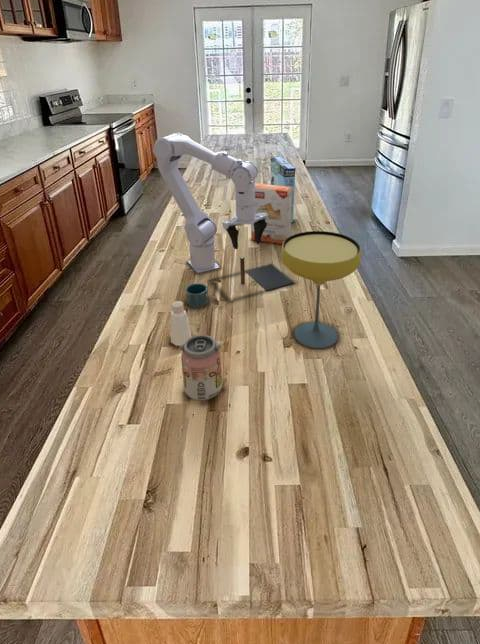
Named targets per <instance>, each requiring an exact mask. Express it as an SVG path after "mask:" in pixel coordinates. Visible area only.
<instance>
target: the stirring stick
mask: <svg viewBox="0 0 480 644" xmlns="http://www.w3.org/2000/svg"><path fill="white" fill-rule="evenodd" d="M245 264H246V263H245V256H243V255H242V256H240V257H239V267H240V268H239V269H240V270H239V271H240V285H245V284H246V272H245V271H246V268H245V266H246V265H245Z"/></svg>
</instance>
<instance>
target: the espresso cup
mask: <svg viewBox="0 0 480 644" xmlns="http://www.w3.org/2000/svg"><path fill="white" fill-rule="evenodd" d="M185 300H186V304H187V305H188V306H189V307H193V308H200V307H203V306H205V305H207V304H208V303H209V289H208V286H207V285H206V284H204V283H192V284H189V285H187V286H186V287H185Z"/></svg>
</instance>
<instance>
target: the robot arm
mask: <svg viewBox="0 0 480 644" xmlns="http://www.w3.org/2000/svg"><path fill="white" fill-rule="evenodd" d="M152 153H153V155H154V156H155V159H156V164H157V169H158V171H159V173H160V175H161V177H162V178H163V180H164V182H165V184H166V186H167V188H168V189H169V192H170V193H171V195H172V197H173V198H174V200H175V203H176V204H177V206H178V208H179V209H180V212H181V214H182V215H183V217H184V218H185V222H184V226H183V228H184V230H185V233H186V238H187V241H188V243H189V245H188V246H189V247H188V248H189V257H190V258H189V259H190V260H188V261H187V263H188V264H189V265H190V268H192V269H193V270H194V271H195V272H196V273H197V274H199V273H204V272H207V271H211V270H216V269H219V268H220V265H219V264H218V263H217V262H216V257H215V256H216V255H215V235H216V234H217V231H218V226H217V224H216V222H215V221H214V220H212V219H211V217H210V216H209V214H207V213H206V212H203V211H202V210H201V209H200V207H199V205H198V203H197V201H196V199H195V197H194V196H193V193H192V192H191V190H190V188H189V186H188V184H187V182H186V181H185V179H184V177H183V174H181V172H180V170H179V168H178V166H179V163H180V159H181V158H182V157H183V156H184V155H188V156H190V157H192V158H196V159H198V160H200V161H203V162H204V163H208V164H209V165H210V166H211V169H212V170H213V171H214V172H217V173H219V174H221V175H223V176H226V177H228V178H229V179H231V181H232V182H233V184H234V187H235V191H234V192H235V216H233V217H231V218H229V219H225V220H222V228H223V229H224V230H226V232H227V234H228V236H229V238H230V241H231V245H232V248H234V249H235V250H238V248H239V241H238V239H239V232H240V230H239V229H237V227H238V226H244V225H251V224H253V225H254V238H255V240H254V243H256V244H257V245H260V244H261V241H260V240H261V237H262V234H263V232H264V230H265V228H266V226H267V223H266V222H265V221H267V220H268V214H267V213H258V214H255V184H256V182H255V180H256V178H257V177H258V173H259V172H258V171H259V170H258V168H257V166H256V165H255V164H254V163H253V162H252V161H250V160H249V161H243V159H240V158H238V159H237V158H235V157H233V156H231V155H229V152H227V151H218V152H215V151H212V150H210V149H208V148H206V147H205V146H203V145H201V144H199V143H198V142H196V141H194V140H192V139H191V138H190V137H189V136H188V135H185V134H182V133H181V132H174V133H172V134H169V135H167V136H164V137H159V138H157V139H156V140H155V141H154V145H153V148H152Z"/></svg>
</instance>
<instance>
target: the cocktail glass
mask: <svg viewBox="0 0 480 644" xmlns="http://www.w3.org/2000/svg"><path fill="white" fill-rule="evenodd" d="M281 245H282V246H281V261H282V263H283V265H284V266H285V267H286V268H287V270H289V271H290V272H291V273H293V274H294V275H296V276H298V277H300V278H303V279H306V280H309V281H312V282H313V284H314V285H316V286H317V288H316V304H315V305H316V306H315V316H314V321H310V322H309V321H308V322H305V323H301V324H300V325H298V326H297V327H296V329H295V330H294V339H295V340H296V341H297V342H298V343H299V344H301V345H302V346H304V347H307V348H311V349H327V348H330V347H332V346H333V345H334V344H336V342H337V341H338V338H339V337H338V333H337V331H336V330H335V328H334V327H332V326H330V325H329V324H326V323H323V322H319V313H320V311H319V310H320V296H321V295H320V294H321V286H323V285H324V284H325V283H326V282H332V281H337V280H341V279H344V278H347V277H348V276H350V275H351V274H353V273H354V272H355V271H357V269H359V266H360V265H361V260H362V248H361V245H360V244H359V243H358V241H357V240H355V239H353V238H351V237H349V236H347V235H346V234H342V233H337V232H333V231H327V230H326V231H325V230H312V231H303V232H298V233H295V234H293V235H291V236H290V237H288V238H287V239H286V240H285V241H284V243H283V244H281Z"/></svg>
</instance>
